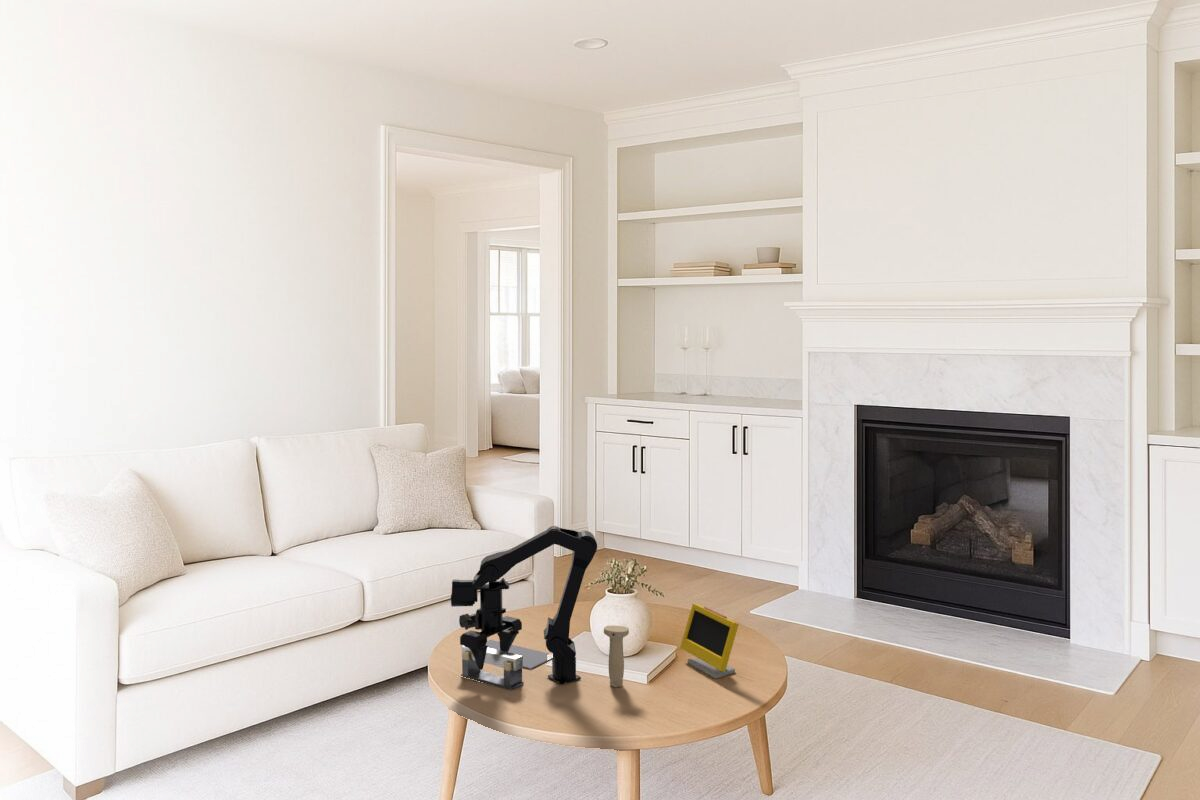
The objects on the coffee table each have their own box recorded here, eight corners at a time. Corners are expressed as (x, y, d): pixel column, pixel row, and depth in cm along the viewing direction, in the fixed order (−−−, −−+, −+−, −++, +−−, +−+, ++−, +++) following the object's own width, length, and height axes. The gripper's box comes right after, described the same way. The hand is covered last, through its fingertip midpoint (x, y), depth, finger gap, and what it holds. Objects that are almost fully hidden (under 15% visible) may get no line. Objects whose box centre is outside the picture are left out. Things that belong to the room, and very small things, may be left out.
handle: (607, 680, 247) (607, 624, 246) (631, 683, 245) (631, 627, 244) (601, 687, 243) (601, 630, 242) (625, 690, 241) (625, 632, 239)
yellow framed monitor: (679, 659, 263) (680, 604, 262) (703, 655, 266) (703, 600, 265) (720, 683, 245) (721, 624, 244) (745, 678, 249) (746, 619, 248)
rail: (522, 667, 243) (522, 655, 243) (515, 670, 241) (515, 659, 240) (469, 653, 253) (469, 643, 253) (461, 657, 250) (461, 646, 250)
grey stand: (523, 684, 245) (523, 658, 244) (511, 690, 240) (511, 663, 240) (473, 671, 254) (473, 645, 253) (461, 677, 250) (460, 651, 249)
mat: (557, 656, 265) (557, 655, 265) (530, 669, 255) (530, 668, 255) (490, 641, 278) (490, 639, 278) (463, 652, 268) (463, 651, 268)
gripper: (490, 592, 258) (491, 647, 259) (443, 609, 242) (444, 668, 243) (522, 598, 252) (523, 655, 253) (476, 616, 236) (477, 677, 237)
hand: (491, 663), depth 247 cm, fingers open, 9 cm apart
